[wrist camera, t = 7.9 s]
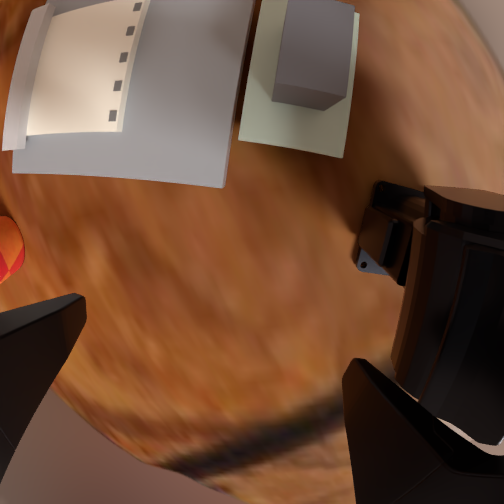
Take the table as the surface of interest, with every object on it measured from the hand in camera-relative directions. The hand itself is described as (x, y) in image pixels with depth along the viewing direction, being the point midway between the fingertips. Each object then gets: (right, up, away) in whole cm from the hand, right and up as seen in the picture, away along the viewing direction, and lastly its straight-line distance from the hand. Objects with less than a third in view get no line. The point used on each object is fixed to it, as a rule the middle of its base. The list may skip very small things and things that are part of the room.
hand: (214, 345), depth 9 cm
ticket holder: (-8, +16, +7) cm, 19 cm away
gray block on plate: (+4, +14, +6) cm, 15 cm away
